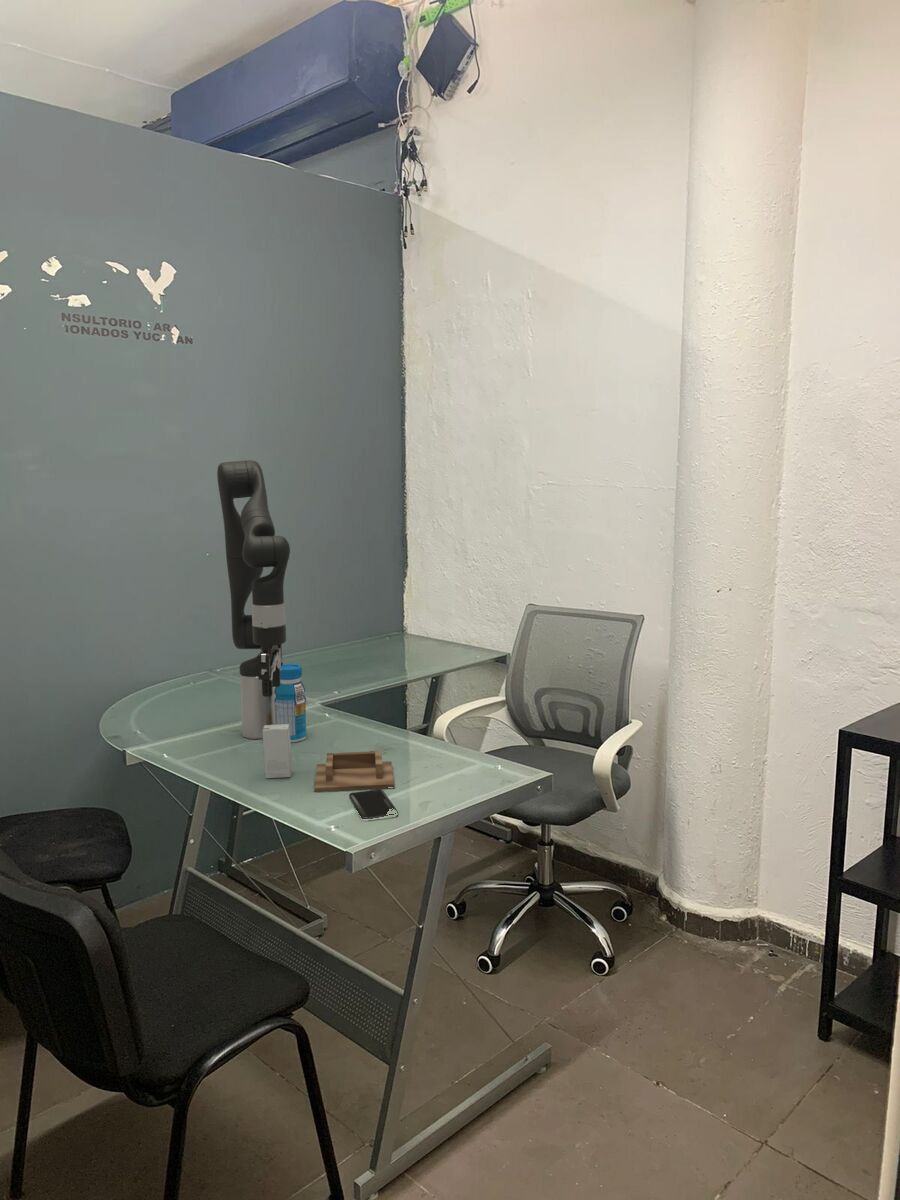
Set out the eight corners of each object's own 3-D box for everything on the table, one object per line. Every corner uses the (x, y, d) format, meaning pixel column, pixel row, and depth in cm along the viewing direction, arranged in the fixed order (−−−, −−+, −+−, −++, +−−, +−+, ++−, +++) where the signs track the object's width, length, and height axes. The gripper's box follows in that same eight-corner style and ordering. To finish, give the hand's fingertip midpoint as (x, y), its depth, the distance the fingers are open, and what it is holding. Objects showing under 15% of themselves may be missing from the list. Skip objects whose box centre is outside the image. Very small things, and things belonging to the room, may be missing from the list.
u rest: (317, 768, 210) (316, 750, 210) (391, 765, 212) (391, 747, 212) (314, 792, 195) (313, 772, 194) (394, 788, 197) (394, 769, 196)
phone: (362, 818, 178) (348, 793, 192) (362, 823, 178) (348, 797, 192) (399, 813, 180) (382, 788, 194) (399, 818, 180) (382, 793, 194)
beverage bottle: (276, 744, 229) (273, 670, 226) (274, 735, 237) (271, 664, 234) (308, 741, 231) (306, 668, 228) (305, 732, 239) (303, 662, 236)
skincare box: (292, 771, 208) (290, 723, 206) (290, 778, 204) (289, 728, 202) (266, 772, 207) (264, 723, 206) (264, 779, 203) (262, 729, 201)
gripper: (260, 617, 206) (262, 683, 208) (245, 628, 192) (248, 699, 194) (291, 617, 206) (293, 683, 208) (278, 628, 192) (281, 699, 194)
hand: (271, 691), depth 201 cm, fingers open, 8 cm apart
